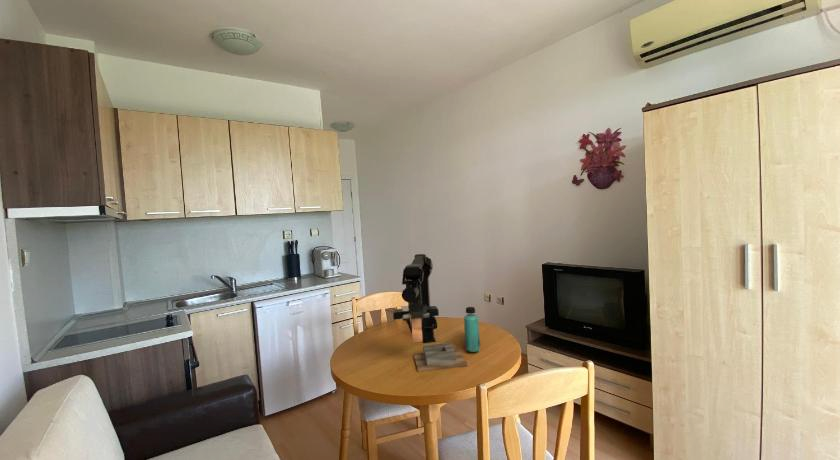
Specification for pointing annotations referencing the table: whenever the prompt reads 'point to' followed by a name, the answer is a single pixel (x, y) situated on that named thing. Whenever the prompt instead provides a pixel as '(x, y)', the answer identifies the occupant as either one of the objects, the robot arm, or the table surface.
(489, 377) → the table surface
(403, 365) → the table surface
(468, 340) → the beverage bottle
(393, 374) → the table surface
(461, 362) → the socket board
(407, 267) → the robot arm
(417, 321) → the peg
